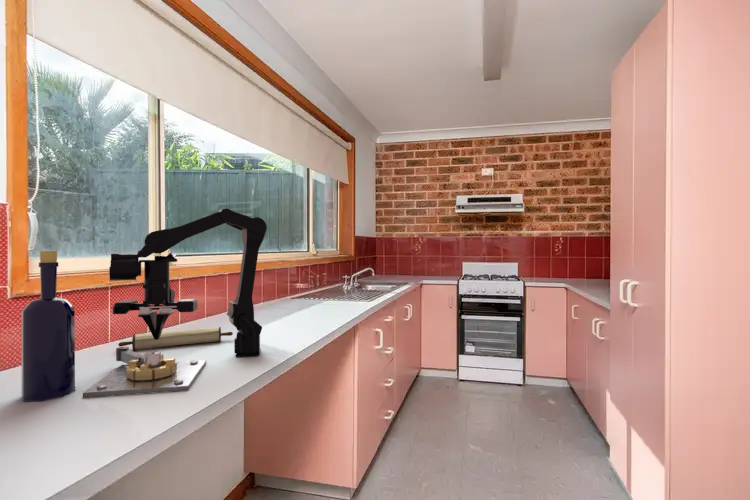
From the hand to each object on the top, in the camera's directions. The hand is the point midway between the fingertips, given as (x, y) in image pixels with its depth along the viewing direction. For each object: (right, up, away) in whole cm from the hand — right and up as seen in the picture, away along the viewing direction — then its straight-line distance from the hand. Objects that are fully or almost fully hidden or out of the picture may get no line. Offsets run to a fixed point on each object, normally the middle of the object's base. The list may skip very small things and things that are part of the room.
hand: (156, 339), depth 103 cm
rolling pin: (-5, -7, +22) cm, 23 cm away
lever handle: (-1, -6, -6) cm, 9 cm away
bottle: (-12, -7, -20) cm, 24 cm away
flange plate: (+5, -7, -10) cm, 13 cm away
